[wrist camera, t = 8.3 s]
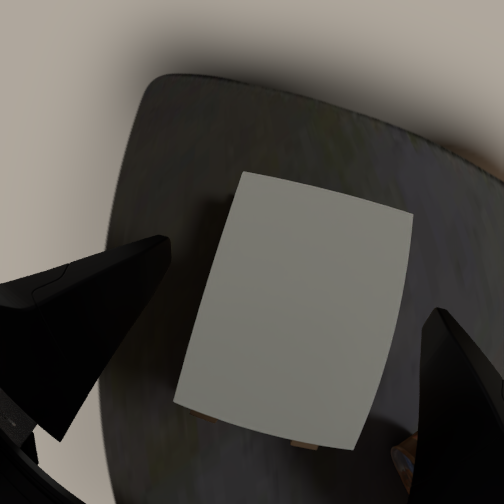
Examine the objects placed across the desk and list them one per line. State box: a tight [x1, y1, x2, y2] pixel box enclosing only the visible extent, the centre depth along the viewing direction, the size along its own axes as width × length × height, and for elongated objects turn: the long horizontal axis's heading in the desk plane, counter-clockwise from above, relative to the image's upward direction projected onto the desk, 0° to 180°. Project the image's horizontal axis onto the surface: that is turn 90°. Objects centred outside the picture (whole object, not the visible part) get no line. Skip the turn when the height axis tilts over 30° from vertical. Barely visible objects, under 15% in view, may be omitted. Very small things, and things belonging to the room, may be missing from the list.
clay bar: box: [173, 171, 413, 450], centre depth 10 cm, size 4×3×12 cm
